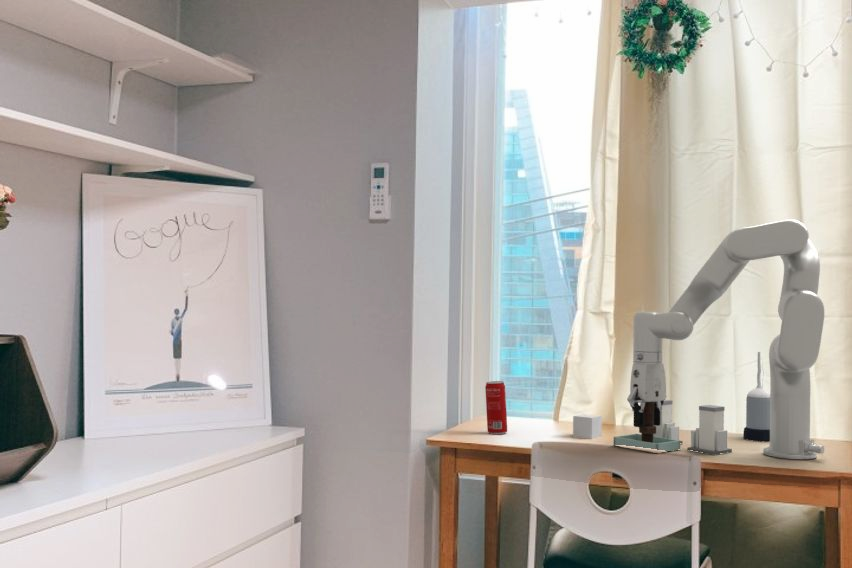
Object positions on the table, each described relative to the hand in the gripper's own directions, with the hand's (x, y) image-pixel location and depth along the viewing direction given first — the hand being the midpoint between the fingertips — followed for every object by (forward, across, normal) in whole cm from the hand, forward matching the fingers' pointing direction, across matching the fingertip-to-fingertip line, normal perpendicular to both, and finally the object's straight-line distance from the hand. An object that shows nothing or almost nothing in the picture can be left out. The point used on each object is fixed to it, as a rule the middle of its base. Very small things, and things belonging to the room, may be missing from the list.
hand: (646, 425), depth 232 cm
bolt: (+6, 0, 0) cm, 6 cm away
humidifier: (+6, +40, -9) cm, 41 cm away
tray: (+6, 0, 0) cm, 6 cm away
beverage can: (+6, -16, +41) cm, 44 cm away
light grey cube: (+6, +2, +22) cm, 23 cm away
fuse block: (+6, +10, -5) cm, 13 cm away
